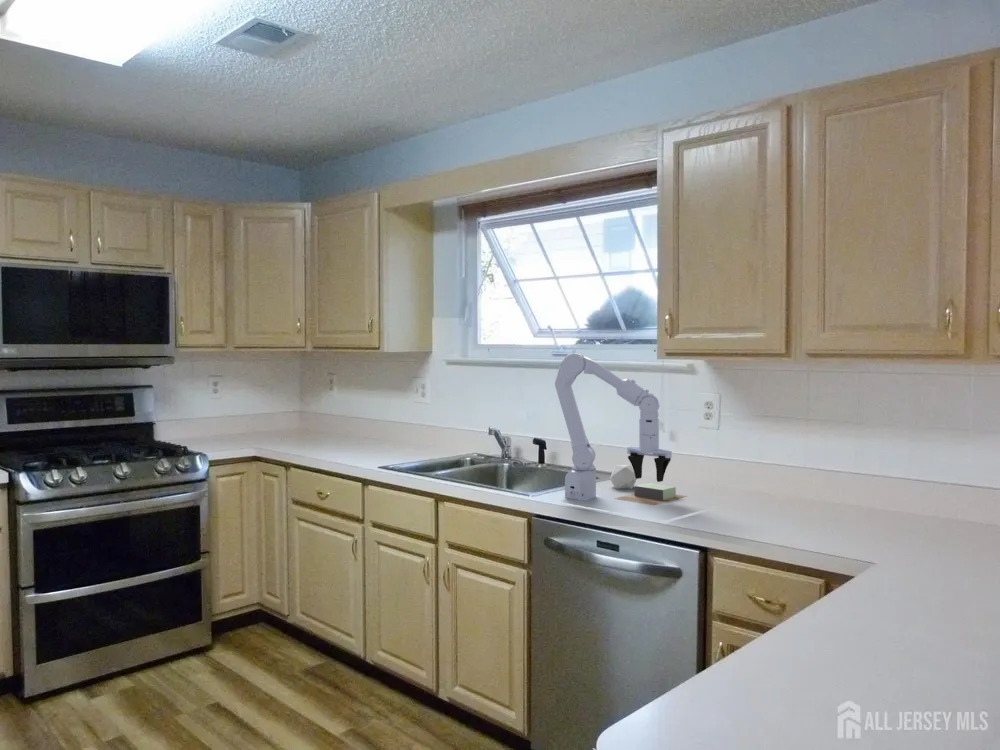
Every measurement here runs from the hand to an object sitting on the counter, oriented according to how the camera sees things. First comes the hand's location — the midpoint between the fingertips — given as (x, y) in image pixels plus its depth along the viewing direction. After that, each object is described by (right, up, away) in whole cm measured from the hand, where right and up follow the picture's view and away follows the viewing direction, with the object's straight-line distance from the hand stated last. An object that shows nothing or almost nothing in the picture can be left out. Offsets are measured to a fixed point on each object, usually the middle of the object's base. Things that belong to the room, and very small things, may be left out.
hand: (649, 479), depth 230 cm
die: (-5, -6, +18) cm, 19 cm away
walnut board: (+1, -6, +1) cm, 6 cm away
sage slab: (0, -4, 0) cm, 4 cm away
